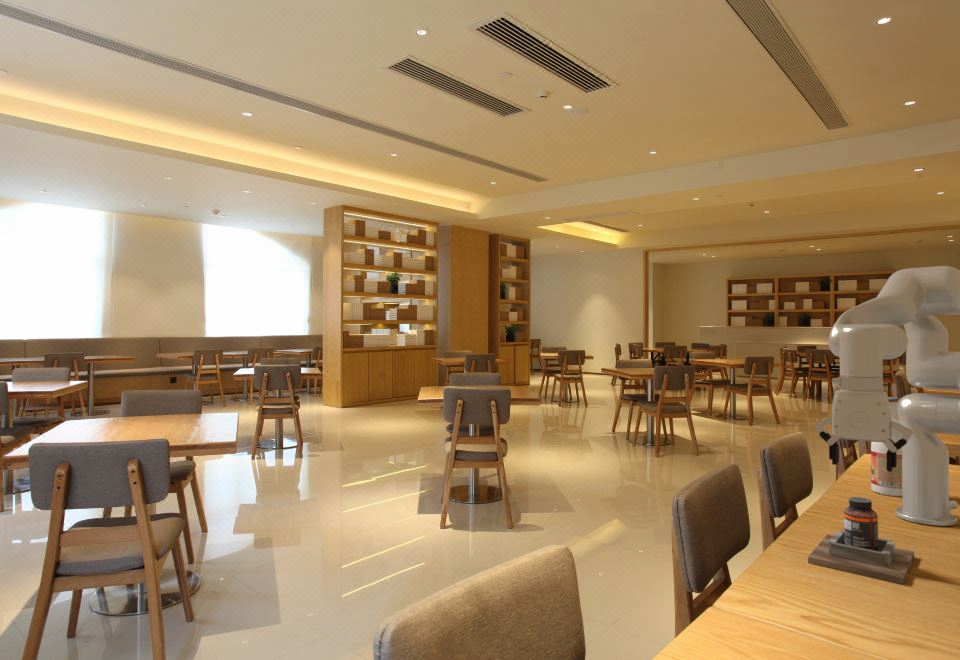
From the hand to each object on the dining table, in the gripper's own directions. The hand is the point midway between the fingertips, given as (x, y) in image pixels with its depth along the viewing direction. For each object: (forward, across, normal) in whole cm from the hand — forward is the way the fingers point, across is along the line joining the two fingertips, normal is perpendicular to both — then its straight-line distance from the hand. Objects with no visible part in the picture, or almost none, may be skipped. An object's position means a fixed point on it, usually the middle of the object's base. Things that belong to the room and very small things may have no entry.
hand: (862, 466), depth 123 cm
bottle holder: (+19, 0, -1) cm, 19 cm away
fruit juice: (+21, -3, +65) cm, 69 cm away
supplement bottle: (+18, 0, -1) cm, 18 cm away
